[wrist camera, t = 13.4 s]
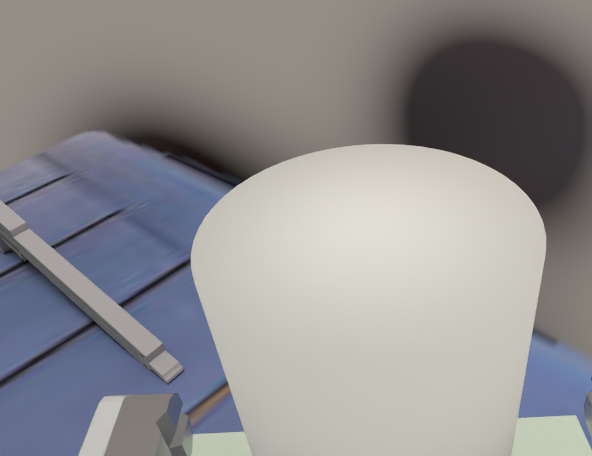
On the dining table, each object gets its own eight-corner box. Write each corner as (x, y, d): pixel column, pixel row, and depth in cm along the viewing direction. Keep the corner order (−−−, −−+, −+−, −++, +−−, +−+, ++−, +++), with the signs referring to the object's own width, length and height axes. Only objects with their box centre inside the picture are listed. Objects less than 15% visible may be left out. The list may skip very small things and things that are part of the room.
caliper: (-11, 246, 37) (-58, 167, 33) (4, 237, 37) (-40, 159, 34) (169, 389, 24) (126, 288, 21) (187, 373, 25) (148, 273, 21)
